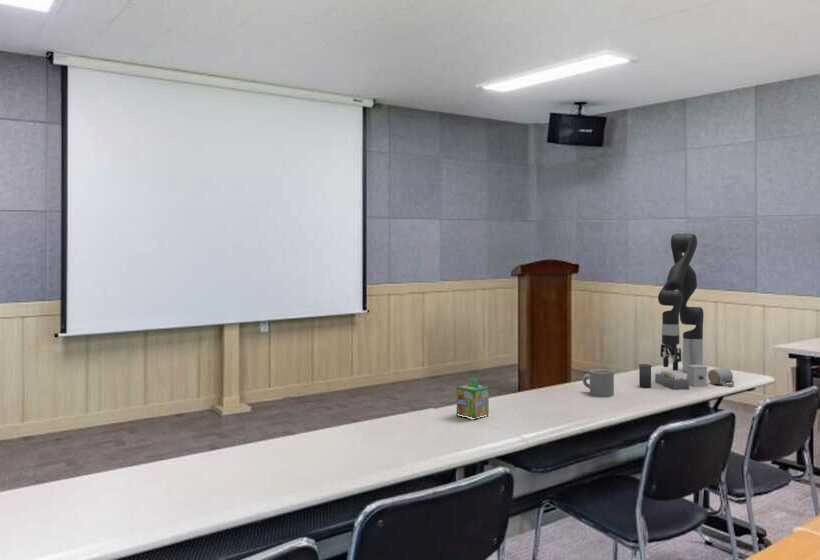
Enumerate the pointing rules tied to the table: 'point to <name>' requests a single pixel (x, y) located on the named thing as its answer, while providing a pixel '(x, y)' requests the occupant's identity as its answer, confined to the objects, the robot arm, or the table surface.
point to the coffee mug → (600, 383)
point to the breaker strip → (671, 380)
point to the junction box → (697, 375)
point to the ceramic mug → (721, 376)
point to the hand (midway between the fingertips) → (670, 368)
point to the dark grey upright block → (645, 375)
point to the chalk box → (473, 399)
